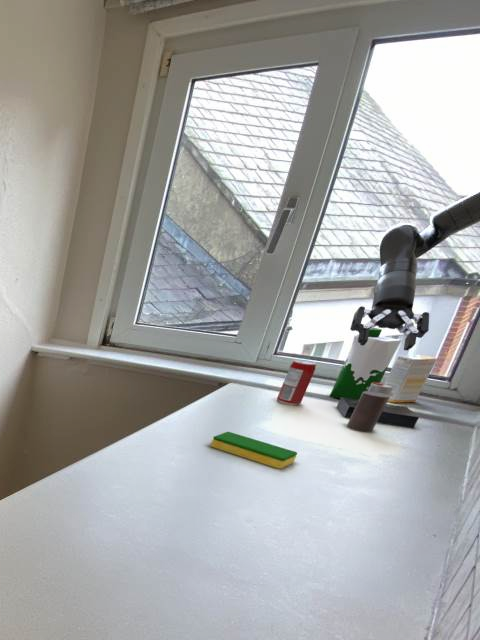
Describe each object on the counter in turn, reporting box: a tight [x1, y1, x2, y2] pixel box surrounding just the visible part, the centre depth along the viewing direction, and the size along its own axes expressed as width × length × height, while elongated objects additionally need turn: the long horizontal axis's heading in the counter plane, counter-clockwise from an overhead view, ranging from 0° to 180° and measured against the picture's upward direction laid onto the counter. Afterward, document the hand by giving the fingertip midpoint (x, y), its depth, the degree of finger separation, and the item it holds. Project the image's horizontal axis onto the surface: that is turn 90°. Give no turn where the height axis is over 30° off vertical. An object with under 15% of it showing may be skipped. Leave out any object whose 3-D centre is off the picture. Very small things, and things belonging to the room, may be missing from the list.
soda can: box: [276, 359, 317, 406], centre depth 154 cm, size 6×6×12 cm
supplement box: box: [384, 354, 438, 404], centre depth 160 cm, size 8×5×13 cm, turn 100°
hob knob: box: [368, 382, 393, 395], centre depth 145 cm, size 4×4×6 cm
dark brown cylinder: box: [346, 391, 390, 433], centre depth 136 cm, size 5×5×9 cm
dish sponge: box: [210, 431, 298, 470], centre depth 119 cm, size 7×14×2 cm, turn 34°
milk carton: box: [329, 327, 402, 400], centre depth 158 cm, size 9×9×20 cm
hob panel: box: [336, 397, 420, 429], centre depth 146 cm, size 14×10×3 cm
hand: (385, 346), depth 137 cm, fingers open, 8 cm apart
